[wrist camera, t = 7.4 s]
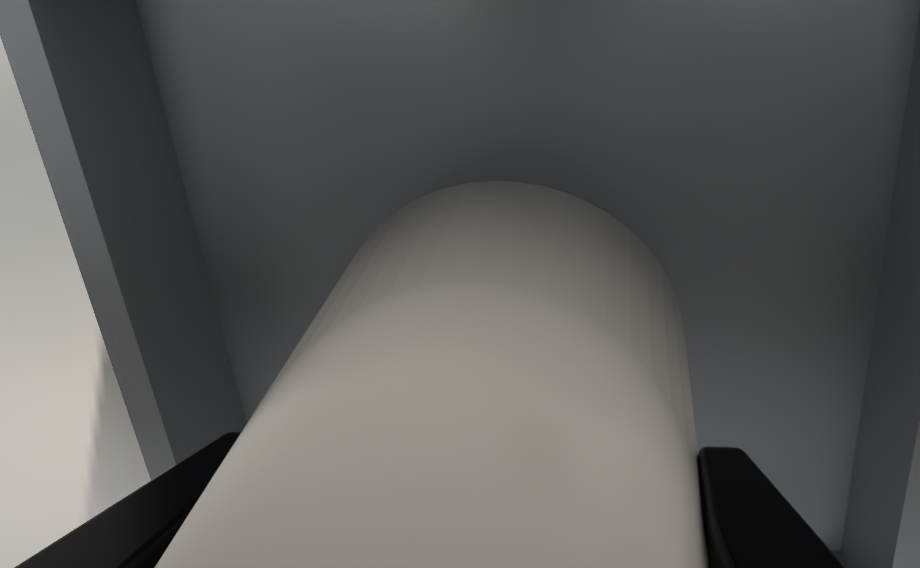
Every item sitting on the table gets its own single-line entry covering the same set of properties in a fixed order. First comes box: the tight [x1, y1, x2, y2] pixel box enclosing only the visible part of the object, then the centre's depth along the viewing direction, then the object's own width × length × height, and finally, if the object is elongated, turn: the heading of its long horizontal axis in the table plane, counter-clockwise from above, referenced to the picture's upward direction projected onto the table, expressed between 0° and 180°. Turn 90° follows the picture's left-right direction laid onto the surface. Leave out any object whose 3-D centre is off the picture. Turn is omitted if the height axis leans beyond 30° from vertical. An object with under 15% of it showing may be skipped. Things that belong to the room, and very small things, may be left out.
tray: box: [0, 0, 920, 568], centre depth 12 cm, size 11×11×3 cm
